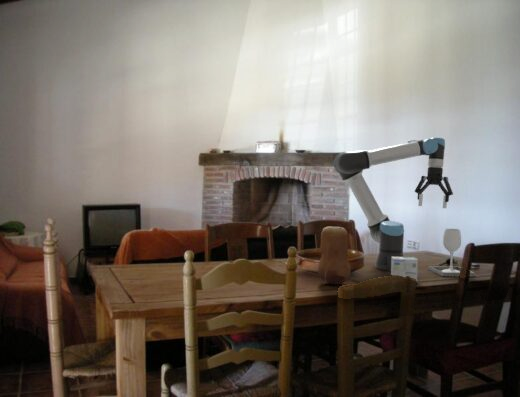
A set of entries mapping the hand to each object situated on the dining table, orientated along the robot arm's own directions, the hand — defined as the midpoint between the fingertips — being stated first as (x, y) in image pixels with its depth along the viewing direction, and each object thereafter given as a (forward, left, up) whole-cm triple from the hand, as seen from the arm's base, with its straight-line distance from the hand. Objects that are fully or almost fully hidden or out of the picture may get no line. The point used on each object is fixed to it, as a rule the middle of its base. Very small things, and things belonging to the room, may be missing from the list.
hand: (432, 207), depth 260 cm
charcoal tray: (0, -23, -31) cm, 38 cm away
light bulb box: (-31, -41, -31) cm, 60 cm away
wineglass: (0, -23, -30) cm, 38 cm away
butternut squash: (-64, -46, -31) cm, 85 cm away
